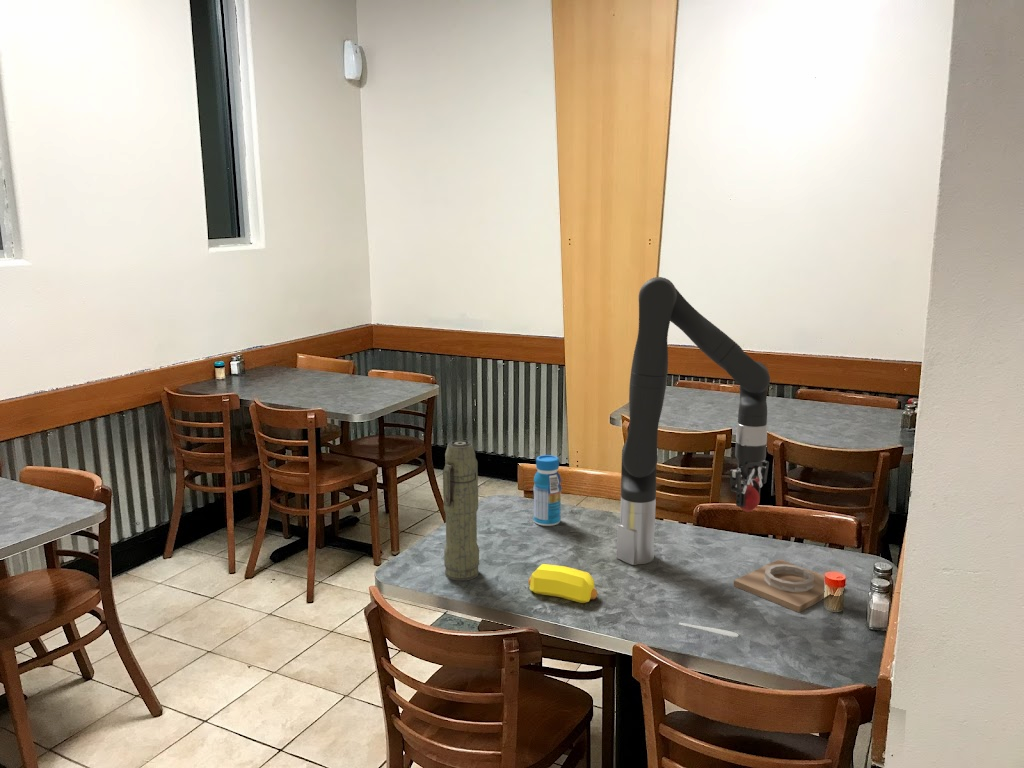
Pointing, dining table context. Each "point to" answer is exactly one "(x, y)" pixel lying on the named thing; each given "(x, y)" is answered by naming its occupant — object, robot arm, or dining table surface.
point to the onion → (751, 498)
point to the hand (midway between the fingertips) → (747, 503)
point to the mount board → (779, 595)
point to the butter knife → (713, 630)
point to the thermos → (461, 511)
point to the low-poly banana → (563, 583)
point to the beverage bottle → (547, 491)
